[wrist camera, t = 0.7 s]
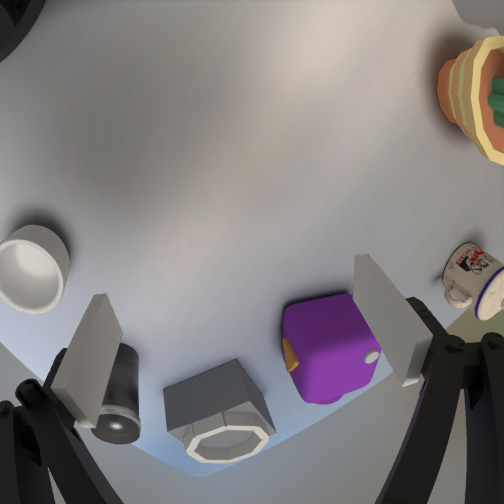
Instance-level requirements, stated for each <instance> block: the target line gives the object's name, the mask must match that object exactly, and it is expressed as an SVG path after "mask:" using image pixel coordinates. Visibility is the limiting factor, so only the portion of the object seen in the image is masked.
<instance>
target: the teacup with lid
mask: <svg viewBox="0 0 504 504" xmlns="http://www.w3.org/2000/svg"><path fill="white" fill-rule="evenodd" d="M443 283H444V286H445V291H444V296H445V299H446V301H447V302H448V303H449V304H450V305H451V306H452V307H455V308H464V307H468V308H469V309H470V310H471V311H472V312H473V313H475V315H476V317H477V318H478V319H480V320H487V319H489V318H491V317H492V316H493V315H495V314H496V313H497V312H498V311H500V310H501V309H503V310H504V265H503V264H502V263H501V262H499V261H498V260H496V259H495V258H493V257H492V256H491V255H489V254H488V253H486V252H485V251H483V250H482V249H480V248H479V247H477V246H476V245H474V244H472V243H467V244H464V245H462V246H461V247H459V248H458V249H457V250H456V251H455V252H454V254H453V255H452V256H451V258H450V259H449V261H448V263H447V265H446V268H445V271H444V275H443ZM449 291H450V292H451V293H452V294H453V295H454V296H455V297H457V298H458V299H459V300H456V299H454V298H453V297H452V296H451V295H450V293H449Z"/></svg>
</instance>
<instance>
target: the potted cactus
mask: <svg viewBox="0 0 504 504" xmlns="http://www.w3.org/2000/svg"><path fill="white" fill-rule="evenodd" d="M437 94H438V98H439V103H440V107H441V110H442V111H443V113H444V114H445V115H446V117H447V118H448V120H449V121H450V122H452V123H455V124H457V125H459V126H460V128H461V129H462V131H463V132H464V134H465V135H466V136H467V137H468V138H469V139H470V140H471V141H473V142H474V143H475V144H476V146H477V148H478V149H479V151H480V153H481V154H482V155H483V156H485V157H486V158H487V159H489V160H490V161H493V162H496V163H499V164H501V165H504V37H503V36H496V37H490V38H485V39H481V40H477V41H476V42H475V44H474V46H473V47H472V48H470V49H468V50H466V51H463V52H461V54H460V55H459V56H458V57H457V58H455V59H452V60H448V61H446V62H445V63H444V65H443V67H442V68H441V70H440V71H439V73H438V83H437Z"/></svg>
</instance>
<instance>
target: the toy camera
mask: <svg viewBox="0 0 504 504" xmlns="http://www.w3.org/2000/svg"><path fill="white" fill-rule="evenodd" d="M380 352H381V347H380V345H379V343H378V342H377V340H376V338H375V336H374V335H373V333H372V331H371V329H370V328H369V326H368V324H367V322H366V321H365V319H364V317H363V316H362V314H361V312H360V310H359V309H358V307H357V305H356V304H355V302H354V300H353V296H351V295H350V294H338V295H333V296H329V297H324V298H319V299H315V300H310V301H305V302H301V303H297V304H293V305H290V306H289V307H287V308H286V310H285V313H284V322H283V359H284V361H285V364H286V368H287V372H289V373H290V375H291V377H292V379H293V382H294V384H295V386H296V388H297V390H298V392H299V394H300V396H301V397H302V399H303V400H304V401H305V402H307V403H316V404H331V403H334V402H336V401H338V400H339V399H340V398H341V397H342V396H343V394H346V393H349V392H352V391H354V390H357V389H360V388H362V387H364V386H366V385H367V384H368V383H369V382H370V381H371V379H372V376H373V373H374V371H375V368H376V365H377V362H378V359H379V355H380Z"/></svg>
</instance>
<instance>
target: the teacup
mask: <svg viewBox="0 0 504 504" xmlns="http://www.w3.org/2000/svg"><path fill="white" fill-rule="evenodd" d="M69 267H70V262H69V256H68V252H67V250H66V247H65V245H64V243H63V242H62V240H61V239H60V238H59V237H58V236H57V235H56V234H55V233H54V232H53V231H51V230H50V229H48V228H46V227H43V226H39V225H27V226H24V227H22V228H20V229H18V230H16V231H15V232H13V233H12V234H10V235H9V236H8V237H7V238H5V239H4V240H3V241H2V242H1V243H0V297H1V298H2V299H3V300H4V301H5V302H6V303H7V304H9V305H10V306H11V307H13V308H15V309H16V310H19V311H21V312H24V313H28V314H40V313H44V312H47V311H49V310H51V309H52V308H54V307H55V306H56V305H57V304H58V302H59V301H60V299H61V298H62V295H63V292H64V288H65V284H66V280H67V276H68V272H69Z"/></svg>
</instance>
